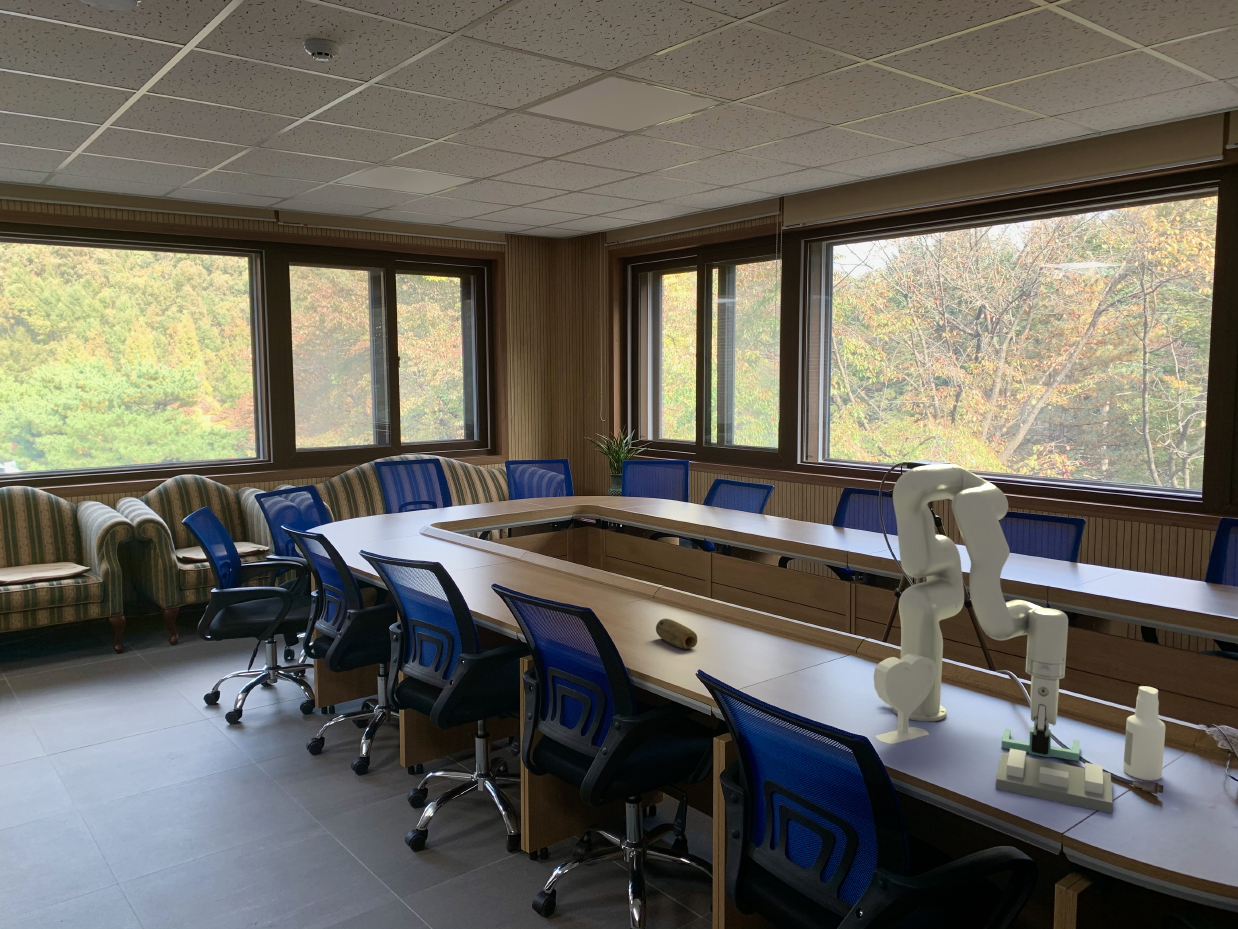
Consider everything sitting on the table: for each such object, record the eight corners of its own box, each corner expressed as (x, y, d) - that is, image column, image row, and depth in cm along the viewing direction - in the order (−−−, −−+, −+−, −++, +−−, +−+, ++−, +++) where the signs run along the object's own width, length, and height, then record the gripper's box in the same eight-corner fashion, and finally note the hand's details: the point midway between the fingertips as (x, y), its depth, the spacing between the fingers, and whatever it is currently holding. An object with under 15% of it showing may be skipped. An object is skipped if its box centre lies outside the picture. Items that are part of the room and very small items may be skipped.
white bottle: (1147, 766, 184) (1154, 683, 182) (1169, 781, 177) (1175, 695, 176) (1116, 766, 184) (1121, 683, 182) (1136, 781, 177) (1142, 695, 175)
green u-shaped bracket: (1001, 749, 192) (1002, 726, 191) (1004, 733, 200) (1005, 712, 200) (1078, 762, 185) (1079, 739, 184) (1079, 745, 193) (1080, 723, 193)
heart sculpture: (884, 745, 193) (888, 666, 191) (868, 737, 198) (871, 659, 196) (935, 733, 200) (939, 656, 198) (918, 725, 205) (922, 649, 203)
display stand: (995, 788, 173) (996, 769, 173) (1001, 761, 186) (1002, 743, 185) (1111, 813, 164) (1113, 792, 164) (1109, 782, 176) (1111, 763, 176)
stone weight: (651, 640, 268) (651, 618, 268) (669, 636, 272) (669, 615, 272) (682, 653, 256) (683, 630, 256) (701, 649, 260) (701, 627, 260)
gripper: (1064, 681, 179) (1058, 768, 180) (1065, 659, 193) (1060, 739, 195) (1023, 675, 182) (1018, 760, 184) (1028, 653, 196) (1023, 733, 198)
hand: (1040, 749), depth 189 cm, fingers closed on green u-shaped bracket, 2 cm apart
